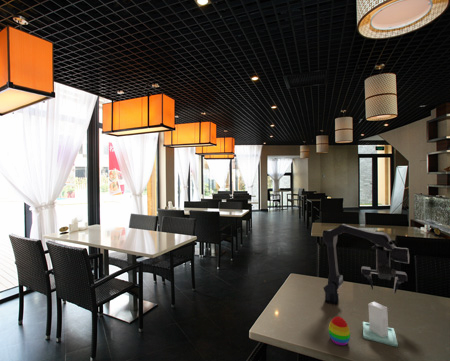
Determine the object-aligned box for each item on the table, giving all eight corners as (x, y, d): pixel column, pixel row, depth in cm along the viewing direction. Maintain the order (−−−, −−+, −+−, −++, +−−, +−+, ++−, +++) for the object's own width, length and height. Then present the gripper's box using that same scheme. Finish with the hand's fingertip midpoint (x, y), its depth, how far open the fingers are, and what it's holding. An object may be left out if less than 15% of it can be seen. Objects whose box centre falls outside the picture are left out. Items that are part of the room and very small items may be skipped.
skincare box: (388, 335, 106) (388, 307, 106) (382, 338, 104) (382, 309, 104) (374, 328, 112) (374, 300, 112) (368, 330, 110) (368, 303, 110)
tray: (363, 338, 105) (363, 335, 105) (362, 324, 116) (362, 321, 116) (397, 347, 100) (397, 344, 100) (393, 331, 110) (393, 328, 110)
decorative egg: (324, 340, 104) (324, 316, 104) (334, 333, 109) (334, 310, 109) (344, 350, 98) (343, 325, 98) (353, 342, 103) (353, 318, 103)
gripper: (361, 260, 119) (361, 293, 119) (409, 266, 110) (409, 302, 110) (361, 254, 129) (361, 285, 129) (405, 260, 120) (405, 292, 120)
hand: (383, 291), depth 122 cm, fingers open, 9 cm apart
